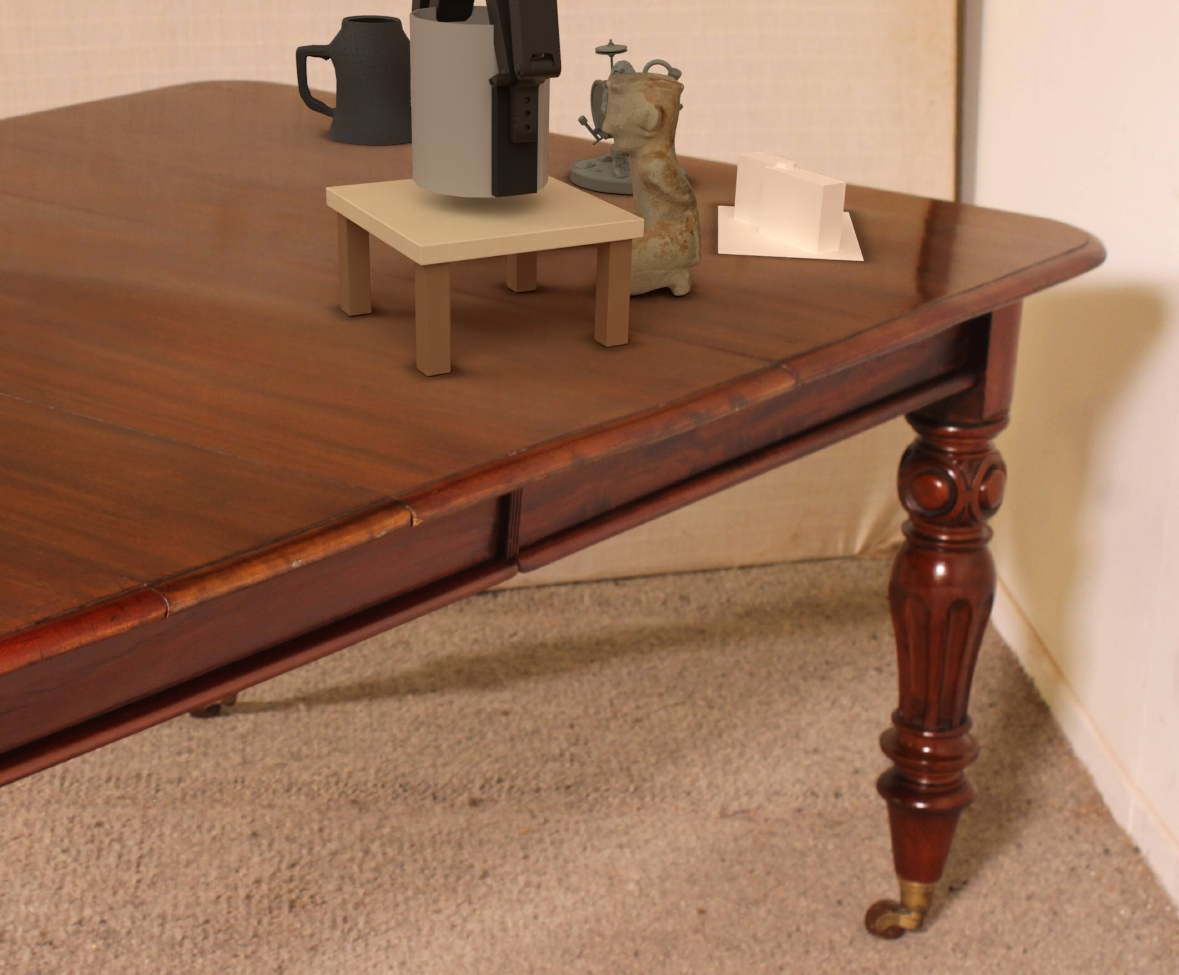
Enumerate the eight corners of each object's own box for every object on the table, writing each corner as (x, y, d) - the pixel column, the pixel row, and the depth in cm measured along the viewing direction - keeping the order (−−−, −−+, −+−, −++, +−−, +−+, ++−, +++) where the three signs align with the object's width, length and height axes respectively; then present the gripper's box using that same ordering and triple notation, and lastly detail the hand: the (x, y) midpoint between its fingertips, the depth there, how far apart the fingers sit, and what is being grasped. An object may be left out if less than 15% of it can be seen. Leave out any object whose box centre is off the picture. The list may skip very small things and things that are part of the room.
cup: (387, 176, 94) (382, 11, 89) (488, 159, 99) (489, 2, 94) (471, 204, 88) (470, 29, 84) (574, 185, 93) (578, 18, 89)
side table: (422, 381, 88) (420, 245, 85) (330, 308, 100) (325, 186, 96) (638, 345, 95) (644, 218, 92) (529, 281, 107) (530, 166, 103)
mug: (420, 126, 154) (418, 13, 150) (421, 145, 146) (419, 26, 141) (303, 125, 153) (297, 11, 148) (296, 144, 145) (290, 24, 140)
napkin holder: (866, 261, 114) (875, 187, 112) (718, 254, 115) (723, 180, 112) (848, 211, 128) (855, 144, 125) (715, 205, 128) (720, 138, 126)
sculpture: (592, 278, 108) (599, 65, 101) (691, 279, 108) (704, 67, 102) (599, 303, 102) (607, 80, 96) (703, 304, 103) (718, 82, 97)
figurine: (592, 197, 129) (596, 55, 124) (554, 169, 138) (557, 36, 133) (704, 191, 132) (713, 52, 127) (660, 164, 142) (667, 34, 137)
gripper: (635, -221, 77) (619, 211, 87) (460, -224, 94) (463, 139, 103) (506, -225, 74) (504, 224, 83) (348, -228, 90) (361, 148, 100)
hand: (481, 177), depth 93 cm, fingers closed on cup, 8 cm apart
